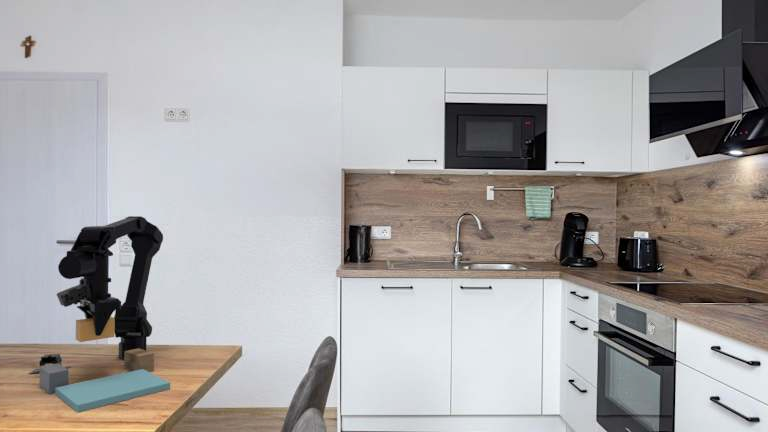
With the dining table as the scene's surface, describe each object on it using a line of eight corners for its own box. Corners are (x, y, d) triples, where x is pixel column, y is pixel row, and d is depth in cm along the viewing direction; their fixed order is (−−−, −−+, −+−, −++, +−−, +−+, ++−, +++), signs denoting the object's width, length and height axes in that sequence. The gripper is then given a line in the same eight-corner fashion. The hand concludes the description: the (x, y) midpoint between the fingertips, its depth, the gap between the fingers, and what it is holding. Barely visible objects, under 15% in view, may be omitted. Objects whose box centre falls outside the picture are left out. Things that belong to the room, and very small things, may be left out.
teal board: (142, 374, 131) (142, 368, 131) (170, 388, 121) (170, 382, 121) (55, 394, 116) (55, 387, 116) (77, 412, 106) (77, 405, 106)
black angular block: (18, 378, 129) (18, 360, 129) (30, 369, 136) (30, 353, 136) (71, 374, 133) (71, 357, 133) (80, 366, 140) (81, 350, 140)
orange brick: (109, 334, 134) (109, 315, 134) (114, 336, 131) (114, 317, 131) (75, 339, 128) (75, 320, 128) (80, 342, 125) (80, 322, 125)
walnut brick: (124, 369, 136) (124, 351, 136) (138, 366, 139) (138, 348, 139) (139, 375, 131) (139, 356, 131) (153, 371, 135) (153, 353, 135)
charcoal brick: (39, 387, 122) (39, 366, 122) (58, 383, 125) (58, 363, 125) (48, 394, 116) (49, 373, 116) (68, 390, 119) (68, 369, 119)
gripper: (49, 274, 130) (49, 333, 130) (72, 280, 118) (71, 346, 117) (96, 270, 138) (95, 326, 138) (122, 276, 126) (121, 338, 126)
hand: (95, 334), depth 130 cm, fingers closed on orange brick, 4 cm apart
